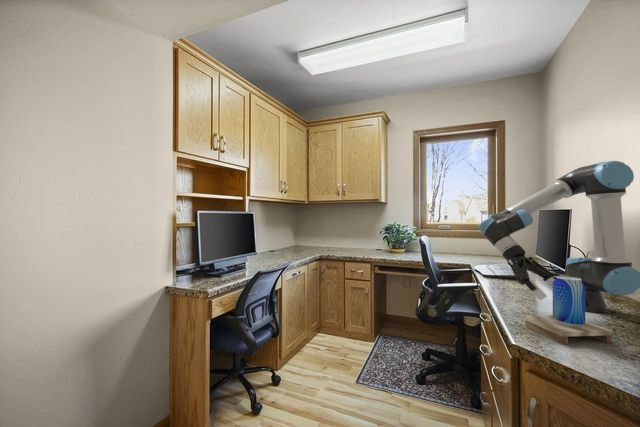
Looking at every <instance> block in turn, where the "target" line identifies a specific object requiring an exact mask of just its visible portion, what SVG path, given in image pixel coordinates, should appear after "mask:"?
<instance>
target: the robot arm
mask: <svg viewBox="0 0 640 427" xmlns="http://www.w3.org/2000/svg"><path fill="white" fill-rule="evenodd" d="M634 178H635V175H634V171H633V170H632V167H630V166H629V165H628V164H626V163H624V162H623V161H620V160H619V161H618V160H610V161H602V162H598V163H594V164H589V165H586V166H585V165H584V166H581V167H578V168H575V169H574V170H572V171H569V172H568V173H566V174H564V175H562V176H560V177H559V178H558V179H557V178H556V179H555V180H554V181H552V184H550V185H549V186H547V187H545V188H543V189H541V190H539V191H538V192H535V193H534V194H532V195H530V196H528V197H526V198H524V199H523V200H521V201H518V202H516V203H515V204H513V205H511V206H509V207H508V208H505V209H503V210H501V211H500V212H498V213H492V214H490V215H488V217H487V218H486V219H484V220H482V221H481V222H479V225H478V230H479V231H480V233H481V234H482V235H483V237H485V238H486V240H488V241H489V243H490V244H491V245H492V246H493V247H494V248H495V249H496V251H497V252H499V253H500V255H502V256H501V257H503V258H504V260H506V262H507V265H509V267H510V269H511V270H512V272H513V274H514V276H515V279H516V280H517V282H518V283H519V284H520V285H522V286H523V285H524V286H526V287H527V288H528V289H529V290H530V291H531V292H532V294H534V296H535V297H536V298H537V299H538V300H539V301H541V300H544V299H545V298H547V297H548V295H547V294H546V293H545V292H544V291H543V290H542V289H541V288H540V287H539V286H538V285H537V283H536V282H535V281H534V280H533V279H531V278H530V275H529V272H532V273H534V274H535V275H537V276H539V277H541V278H542V279H544V280H545V282H546V283H547V285H548V286H549V287H550V288H551V289H552V290H553V281H554V280H555V279H556V278H554V276H555V274H554V273H553V272H551V271H550V270H548V269H547V268H546V267H544V266H543V265H542V264H540V263H539V262H538V261H537V260H535V259H534V258H533V257H532V256H529V257H526V256H525V255H526V250H525V249H524V248H523V247H522V246H521V245H520V244H518V242H517V241H516V240H515V239H514V238H513V237H512V236H511V235H512V234H515V233H517V232H518V231H522V230H523V229H526V228H528V227H529V226H531V225H532V224H533V223H534V219H533V218H534V217H533V216H532V215H533V214H535V213H537V212H539V211H541V210H543V209H544V208H546V207H548V206H550V205H552V204H554V203H556V202H558V201H559V200H562V199H569V198H571V197H573V196H575V195H578V194H584V193H585V197H587V198H588V199H590V203H591V216H592V217H591V218H592V230H593V243H594V254H595V255H594V256H592V257H568V258H567V259H566V264H565V267H566V271H565V272H566V273H565V274H566V275H565V276H568V277H575V278H579V279H581V282H582V283H583V284H584V286H585V312H591V313H597V314H598V313H601V314H602V313H608V305H607V304H606V302H605V298H604V296H603V294H602V292H603V291H604V292H607V293H609V294H613V295H620V296H628V295H629V296H630V295H632V294H634V293H635V292H636V291H637V290H639V289H640V272H639V271H638V270H637V269H636V268H634V267H633V262H632V260H631V259H629V257H627V256H626V249H625V248H626V246H625V245H626V244H625V235H624V233H625V232H624V222H623V209H622V197H623V196H625V195H626V194H627V191H626V188H627V187H630V185H631V183H633V181H634ZM528 271H529V272H528Z"/></svg>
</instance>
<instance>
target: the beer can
mask: <svg viewBox="0 0 640 427" xmlns="http://www.w3.org/2000/svg"><path fill="white" fill-rule="evenodd" d="M554 279H555V280H554V281H553V289H552V316H553V318H554V320H555V321H556V322H557V323H558V324H561V325H564V326H568V327H574V328H581V327H582V326H583V325H584V324H585V321H586V311H585V286H584V284H583V283H582V282H581V279H579V278H575V277H568V276H567V275H557V276H555V278H554Z"/></svg>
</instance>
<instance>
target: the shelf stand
mask: <svg viewBox="0 0 640 427" xmlns="http://www.w3.org/2000/svg"><path fill="white" fill-rule="evenodd" d="M525 328H527V329H529V330H531V331H534V332H536V333H537V334H540V335H542V336H544V337H546V338H548V339H551V340H552V341H554V342H556V343H559V344H561V345H569V337H591V338H594V339H596V340H599V341H601V342H603V343H606V344H613V330H611V329H608V328H606V327H603V326H600V325H597V324H595V323H592V322H589V321H587V320H585V324H584V325H583V326H582V327H581V328H574V327H568V326H564V325H561V324H558V323H557V322H556V321H555V320H554V318H553V315H526V316H525Z"/></svg>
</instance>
